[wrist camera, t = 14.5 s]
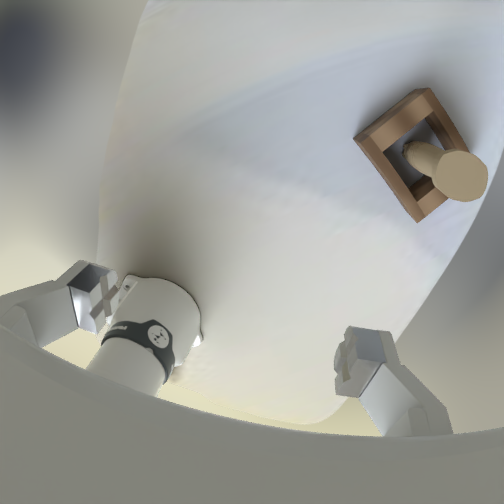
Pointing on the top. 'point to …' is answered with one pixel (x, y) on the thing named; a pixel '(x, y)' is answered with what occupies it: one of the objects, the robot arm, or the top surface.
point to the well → (395, 126)
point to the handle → (449, 170)
